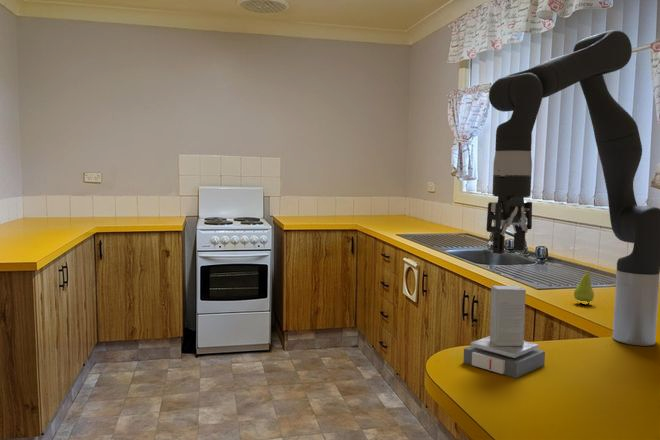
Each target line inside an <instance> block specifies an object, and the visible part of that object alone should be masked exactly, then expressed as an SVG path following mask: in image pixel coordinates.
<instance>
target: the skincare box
mask: <svg viewBox="0 0 660 440" xmlns="http://www.w3.org/2000/svg"><path fill="white" fill-rule="evenodd" d="M526 294H527V293H526V289H525V288H523V287H521V286H519V285H491V286H490V319H489V320H490V325H489V336H490V341H491V342H492V343H493V344H494V345H495V346H524V341H525V319H526Z"/></svg>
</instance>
